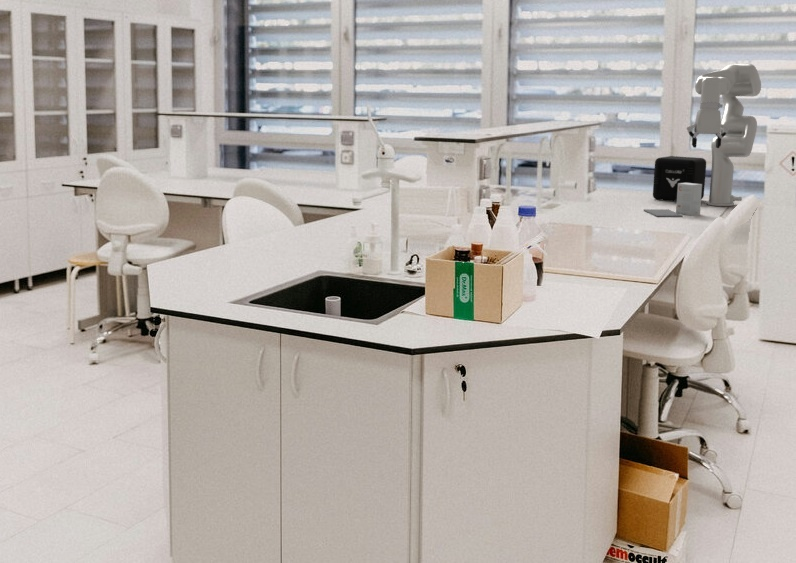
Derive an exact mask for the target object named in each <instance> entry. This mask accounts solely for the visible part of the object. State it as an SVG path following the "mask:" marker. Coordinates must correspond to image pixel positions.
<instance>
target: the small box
mask: <svg viewBox="0 0 796 563" xmlns="http://www.w3.org/2000/svg"><path fill="white" fill-rule="evenodd" d="M701 193H702V184H695V183H678V190H677V202H676V207H675V209H676V210H675V212H676V213H678V214H680V215H686V216H687V215H688V216H696V215H701V204H702V199H701Z"/></svg>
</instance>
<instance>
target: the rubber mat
mask: <svg viewBox="0 0 796 563" xmlns="http://www.w3.org/2000/svg"><path fill="white" fill-rule="evenodd" d="M643 212H645V213H648V214H649V215H651V216H654V217H656V218H683V215H684V214H678V213H676V211H673V210H670V209H668V208H667V209H665V208H664V209H663V208H662V209H659V208H658V209H657V208H655V209H652V208H651V209H650V208H649V209H643Z"/></svg>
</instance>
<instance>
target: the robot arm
mask: <svg viewBox="0 0 796 563" xmlns="http://www.w3.org/2000/svg"><path fill="white" fill-rule="evenodd" d="M694 89H695V92H696V93H697V94H698V95H700V103H699V109H697V112H696V116H695V120H694V123H693V124H691V125H689V126H687V127H686V130H687V132H688V134H689V136H690V137H691V146H692V148H697V143H698V142H697V141H698V138H697V137H698V135H701V134H702V135H703V134H704V135H715V136H714V137H713V139H712V140H711V145H710V146H711V147H710V148H711V172H710V182H709V185H710V186H709V196H708V197H709V198H708V200H706V201H705V202H704V204H705V205H707V204H708V206H713V207H716V206H717V207H732V206H735V201H737V202H742V200H743V197H742V196H735V195H733V194H732V192H733V183H734V182H733V180H734V169H735V168H734V163H733V161H732V160H731V159H730V158H747V157H749V156H751V153H752V150H753V148H754V143H755V139H756V134H757V129H758V121H757V119H756V117H754V116H752V115H744V114H743V113H744V108H745V107H744V106H743V103H742V102H741V101H740V100H739V99H738V98H737V97H756V96H758V95H759V94H760V93H761V91H762V81H761V79H760V75H759V71H758V69H757V68H756V66H755V65H754V64H752V63H731V64H730V63H729V64H727V65H726V66H725V67H723V68H722V69H720V70H719V69H718V70H715V71H711V72H707V73H703V74H701V75H700V76H699V77H698V78H697V79H696V81H695V85H694ZM721 97H722V101H723V104H721V103H720V99H721ZM720 108H723V112H722V115H721V110H720ZM692 129H693V131H694V133H693V131H692Z"/></svg>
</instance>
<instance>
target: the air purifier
mask: <svg viewBox="0 0 796 563" xmlns="http://www.w3.org/2000/svg"><path fill="white" fill-rule="evenodd" d="M653 171H654V172H653V188H652V197H653V198H654V200H657V201H667V202H676V201H677V190H678V183H695V184H702V193H701V200H702V199H703V198H704V196H705V187H706V186H705V184H706V172H707V160H706V159H705V158H703V157H691V156H690V157H689V156H677V155H676V156H675V155H674V156H673V155H668V156H663V157H658V158H656V159H655V161H654V170H653Z"/></svg>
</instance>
